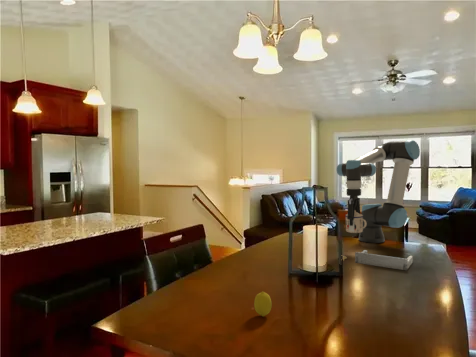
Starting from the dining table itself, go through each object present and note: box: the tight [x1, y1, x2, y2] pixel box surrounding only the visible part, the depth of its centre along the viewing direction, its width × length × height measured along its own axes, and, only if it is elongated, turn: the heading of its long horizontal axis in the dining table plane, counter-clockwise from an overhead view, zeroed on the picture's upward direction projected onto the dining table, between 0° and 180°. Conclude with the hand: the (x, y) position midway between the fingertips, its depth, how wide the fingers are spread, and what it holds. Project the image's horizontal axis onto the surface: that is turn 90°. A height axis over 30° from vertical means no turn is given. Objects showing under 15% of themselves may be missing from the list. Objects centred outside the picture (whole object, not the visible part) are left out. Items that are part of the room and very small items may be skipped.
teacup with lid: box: [345, 210, 367, 234], centre depth 185 cm, size 12×9×12 cm
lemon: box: [253, 291, 272, 318], centre depth 108 cm, size 6×6×8 cm
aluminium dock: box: [354, 249, 414, 271], centre depth 167 cm, size 16×23×5 cm
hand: (354, 230), depth 187 cm, fingers closed on teacup with lid, 7 cm apart
